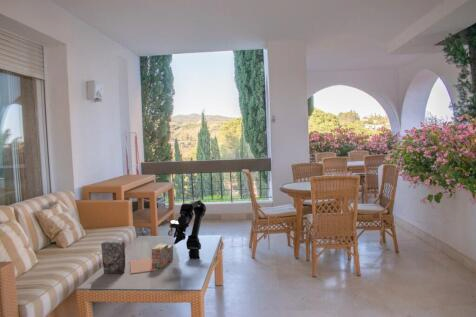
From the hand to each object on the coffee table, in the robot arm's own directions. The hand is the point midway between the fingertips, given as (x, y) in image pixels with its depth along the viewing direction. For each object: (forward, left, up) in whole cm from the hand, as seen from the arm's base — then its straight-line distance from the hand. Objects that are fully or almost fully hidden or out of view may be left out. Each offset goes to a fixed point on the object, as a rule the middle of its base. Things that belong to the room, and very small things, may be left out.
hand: (174, 240), depth 251 cm
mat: (+21, 0, -14) cm, 25 cm away
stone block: (+38, +6, -15) cm, 41 cm away
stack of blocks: (+8, 0, -14) cm, 16 cm away
